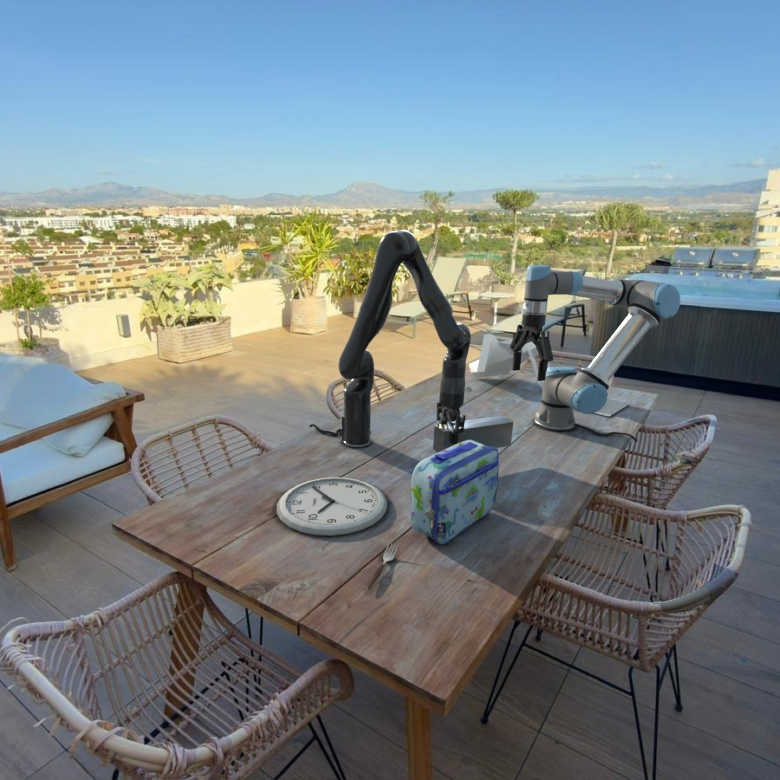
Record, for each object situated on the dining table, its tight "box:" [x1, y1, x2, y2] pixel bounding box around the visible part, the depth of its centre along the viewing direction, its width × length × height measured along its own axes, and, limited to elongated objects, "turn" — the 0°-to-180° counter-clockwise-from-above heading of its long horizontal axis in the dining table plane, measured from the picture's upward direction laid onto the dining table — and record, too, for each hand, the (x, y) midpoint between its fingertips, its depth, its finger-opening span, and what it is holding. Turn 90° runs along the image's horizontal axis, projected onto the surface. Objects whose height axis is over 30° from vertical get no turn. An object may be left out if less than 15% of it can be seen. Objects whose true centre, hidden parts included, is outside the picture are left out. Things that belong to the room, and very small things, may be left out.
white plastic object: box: [468, 307, 551, 390], centre depth 257 cm, size 37×45×31 cm
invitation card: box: [594, 399, 629, 418], centre depth 226 cm, size 21×1×15 cm
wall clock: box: [276, 476, 388, 537], centre depth 142 cm, size 30×2×30 cm
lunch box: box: [410, 440, 500, 545], centre depth 131 cm, size 26×11×21 cm, turn 134°
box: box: [432, 415, 514, 453], centre depth 169 cm, size 26×6×8 cm, turn 114°
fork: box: [367, 541, 399, 590], centre depth 116 cm, size 3×16×2 cm, turn 160°
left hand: (448, 439), depth 165 cm, fingers closed on box, 6 cm apart
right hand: (528, 375), depth 179 cm, fingers open, 13 cm apart
